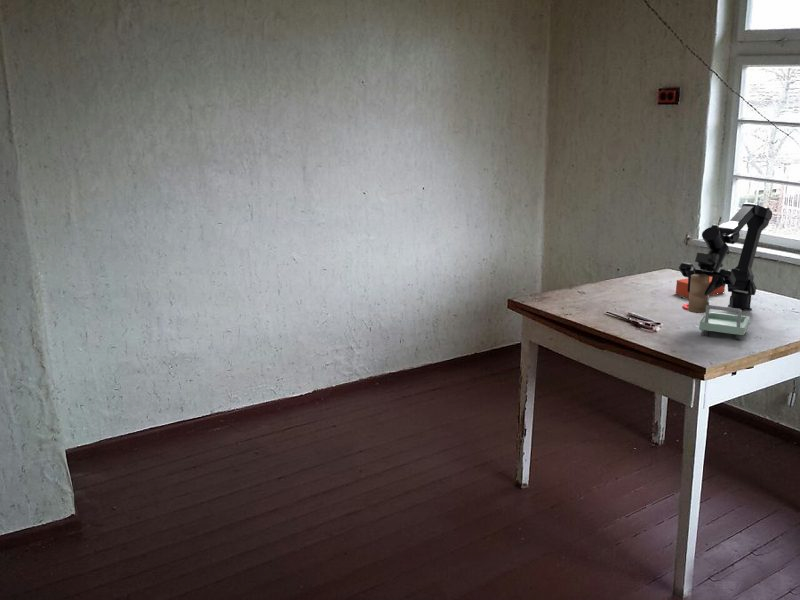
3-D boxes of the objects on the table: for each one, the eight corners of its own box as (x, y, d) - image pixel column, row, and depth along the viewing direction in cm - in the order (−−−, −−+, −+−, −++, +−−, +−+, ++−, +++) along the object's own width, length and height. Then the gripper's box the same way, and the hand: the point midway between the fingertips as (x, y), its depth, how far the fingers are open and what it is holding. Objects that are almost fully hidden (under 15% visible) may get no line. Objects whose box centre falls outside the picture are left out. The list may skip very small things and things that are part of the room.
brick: (691, 299, 302) (693, 285, 300) (675, 294, 310) (676, 280, 308) (724, 293, 309) (726, 279, 307) (707, 288, 317) (708, 274, 315)
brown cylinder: (700, 307, 268) (703, 273, 265) (709, 312, 262) (713, 277, 259) (684, 309, 267) (687, 274, 264) (694, 313, 261) (697, 279, 258)
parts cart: (705, 324, 270) (708, 294, 267) (748, 330, 263) (751, 299, 260) (698, 335, 258) (701, 304, 255) (743, 341, 251) (746, 310, 248)
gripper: (683, 240, 268) (664, 276, 264) (735, 247, 254) (716, 285, 250) (692, 258, 275) (674, 293, 271) (743, 266, 261) (725, 303, 257)
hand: (696, 293), depth 262 cm, fingers closed on brown cylinder, 6 cm apart
